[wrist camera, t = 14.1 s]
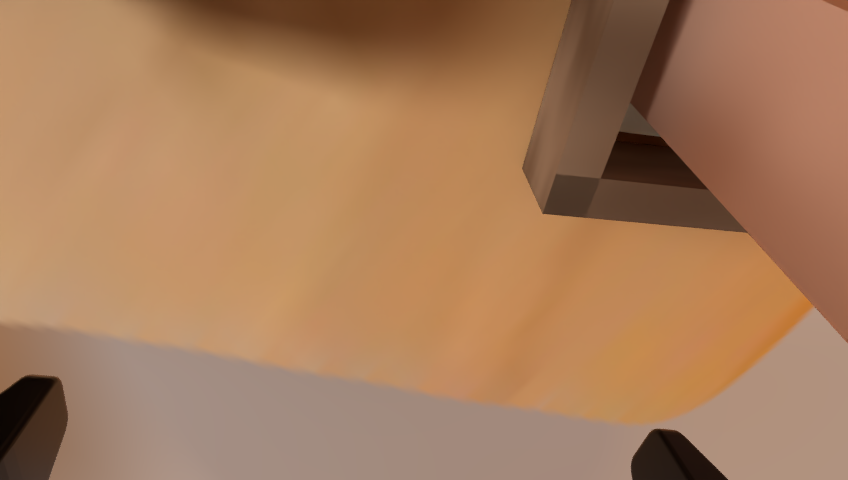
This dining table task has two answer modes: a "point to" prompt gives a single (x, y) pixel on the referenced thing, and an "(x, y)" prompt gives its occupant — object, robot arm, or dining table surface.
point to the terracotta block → (763, 126)
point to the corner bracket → (610, 128)
